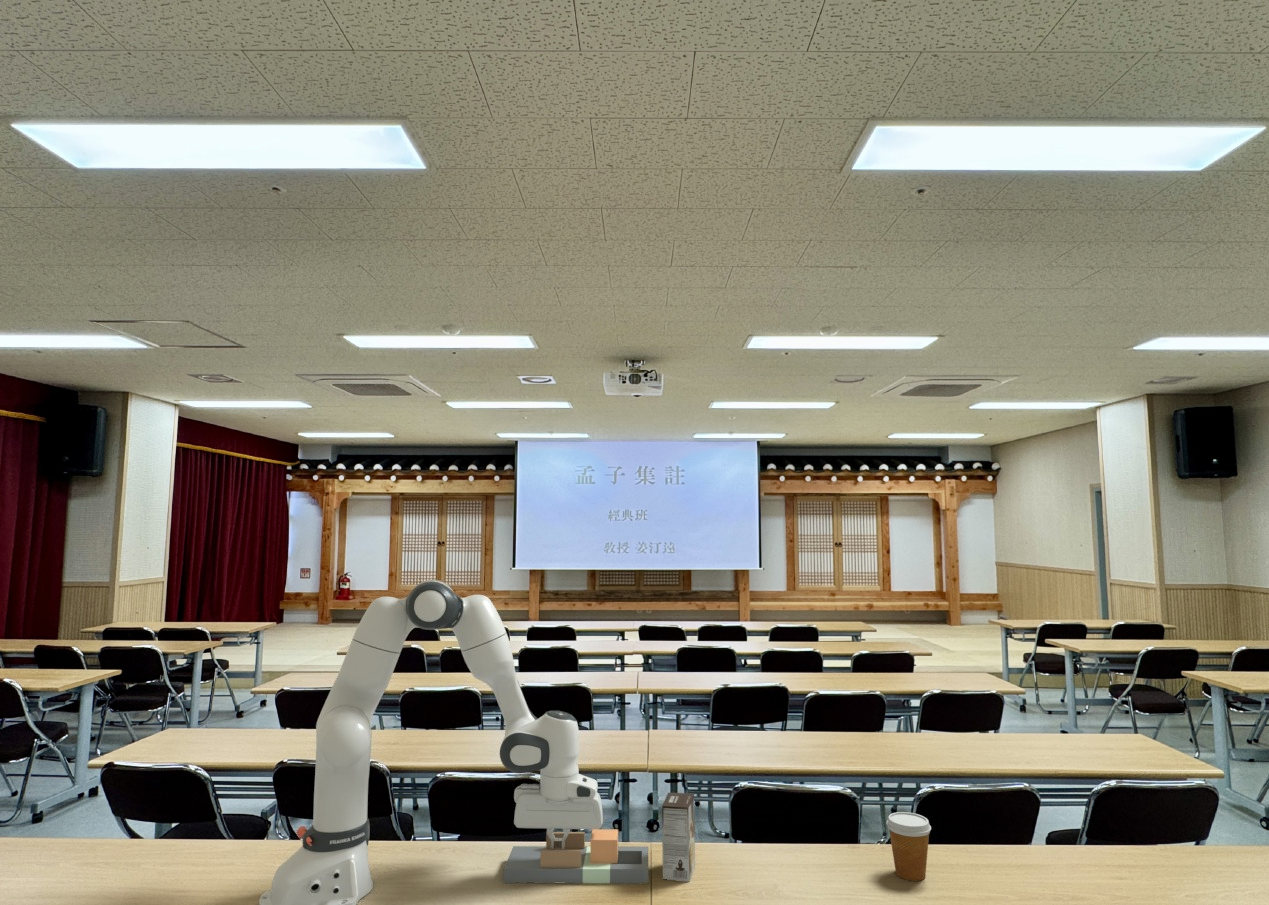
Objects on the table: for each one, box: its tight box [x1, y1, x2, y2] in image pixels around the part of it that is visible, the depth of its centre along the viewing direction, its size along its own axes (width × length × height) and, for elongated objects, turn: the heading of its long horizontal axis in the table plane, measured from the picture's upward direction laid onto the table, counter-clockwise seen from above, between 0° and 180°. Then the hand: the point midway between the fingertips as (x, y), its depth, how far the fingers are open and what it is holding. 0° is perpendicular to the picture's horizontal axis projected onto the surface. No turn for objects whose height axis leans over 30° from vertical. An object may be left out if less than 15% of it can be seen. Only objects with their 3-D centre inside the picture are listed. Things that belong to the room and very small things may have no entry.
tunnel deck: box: [503, 831, 650, 884], centre depth 174 cm, size 32×12×6 cm, turn 89°
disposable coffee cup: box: [886, 811, 932, 882], centre depth 171 cm, size 10×10×12 cm
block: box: [590, 828, 619, 863], centre depth 174 cm, size 6×6×5 cm
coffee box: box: [661, 792, 696, 883], centre depth 173 cm, size 9×6×16 cm
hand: (558, 847), depth 174 cm, fingers closed
